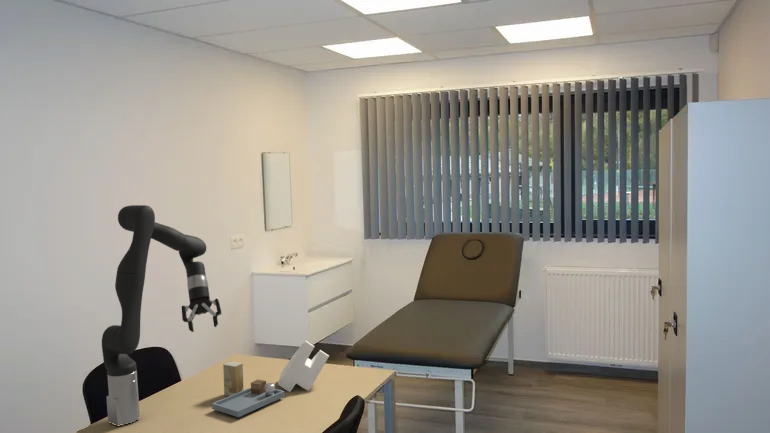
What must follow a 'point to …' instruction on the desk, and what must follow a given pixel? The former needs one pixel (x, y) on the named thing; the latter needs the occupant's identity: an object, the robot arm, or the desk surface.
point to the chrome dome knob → (269, 389)
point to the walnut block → (258, 387)
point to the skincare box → (233, 378)
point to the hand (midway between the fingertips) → (204, 329)
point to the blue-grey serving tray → (245, 402)
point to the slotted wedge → (302, 368)
